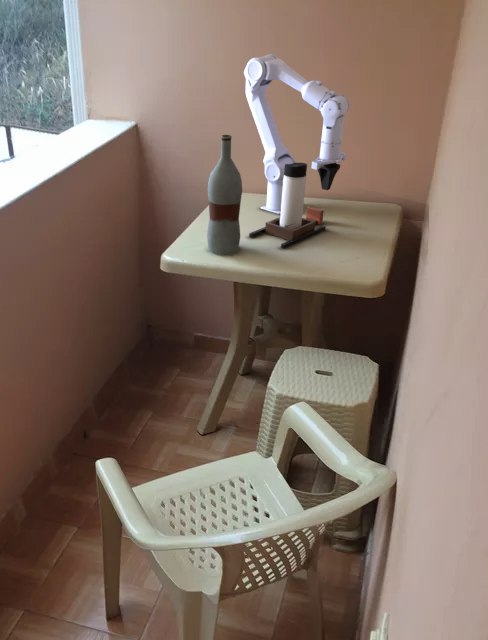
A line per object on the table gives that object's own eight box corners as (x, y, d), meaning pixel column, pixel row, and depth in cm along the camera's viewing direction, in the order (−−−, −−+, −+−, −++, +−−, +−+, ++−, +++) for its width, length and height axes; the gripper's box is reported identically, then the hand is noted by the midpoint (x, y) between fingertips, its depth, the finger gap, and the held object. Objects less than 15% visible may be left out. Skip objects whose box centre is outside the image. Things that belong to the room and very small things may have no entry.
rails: (291, 219, 201) (291, 215, 200) (325, 230, 194) (325, 226, 193) (249, 237, 189) (249, 233, 189) (283, 248, 182) (284, 244, 181)
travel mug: (287, 238, 189) (294, 167, 177) (274, 230, 193) (280, 161, 182) (305, 234, 191) (312, 164, 179) (292, 227, 196) (298, 158, 184)
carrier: (302, 217, 202) (303, 204, 200) (329, 225, 197) (331, 211, 194) (265, 232, 192) (265, 219, 189) (292, 241, 186) (293, 227, 184)
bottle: (231, 258, 177) (235, 142, 159) (201, 252, 180) (201, 138, 163) (245, 246, 183) (250, 133, 166) (215, 241, 187) (217, 130, 170)
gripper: (328, 148, 182) (322, 197, 190) (357, 139, 190) (350, 186, 198) (307, 144, 186) (302, 192, 194) (336, 135, 195) (331, 181, 202)
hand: (325, 189), depth 196 cm, fingers closed
